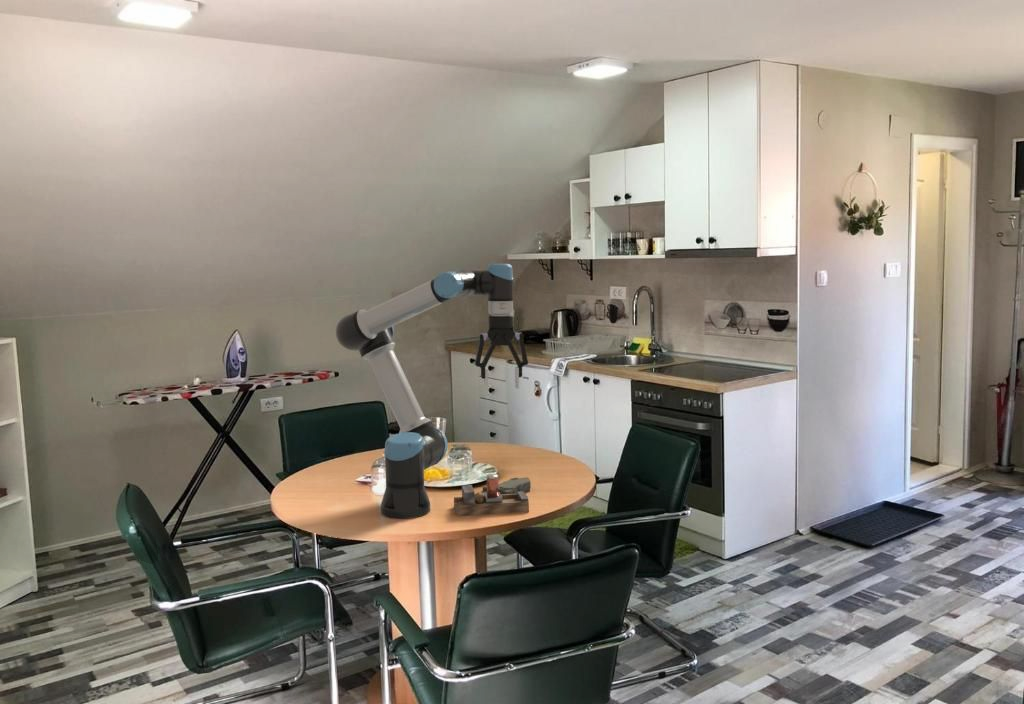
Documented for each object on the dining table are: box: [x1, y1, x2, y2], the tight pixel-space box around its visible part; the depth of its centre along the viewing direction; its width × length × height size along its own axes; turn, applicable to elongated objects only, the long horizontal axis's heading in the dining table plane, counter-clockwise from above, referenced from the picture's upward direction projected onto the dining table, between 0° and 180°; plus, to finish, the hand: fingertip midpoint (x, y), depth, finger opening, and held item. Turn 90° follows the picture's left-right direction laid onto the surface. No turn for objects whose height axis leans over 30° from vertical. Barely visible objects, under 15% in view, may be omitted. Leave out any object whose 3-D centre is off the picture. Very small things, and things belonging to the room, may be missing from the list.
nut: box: [475, 491, 485, 504], centre depth 258 cm, size 4×4×4 cm
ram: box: [482, 473, 503, 503], centre depth 258 cm, size 5×7×8 cm
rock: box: [482, 477, 532, 495], centre depth 277 cm, size 12×16×5 cm
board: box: [453, 484, 530, 517], centre depth 259 cm, size 22×10×7 cm, turn 99°
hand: (501, 388), depth 257 cm, fingers open, 9 cm apart
